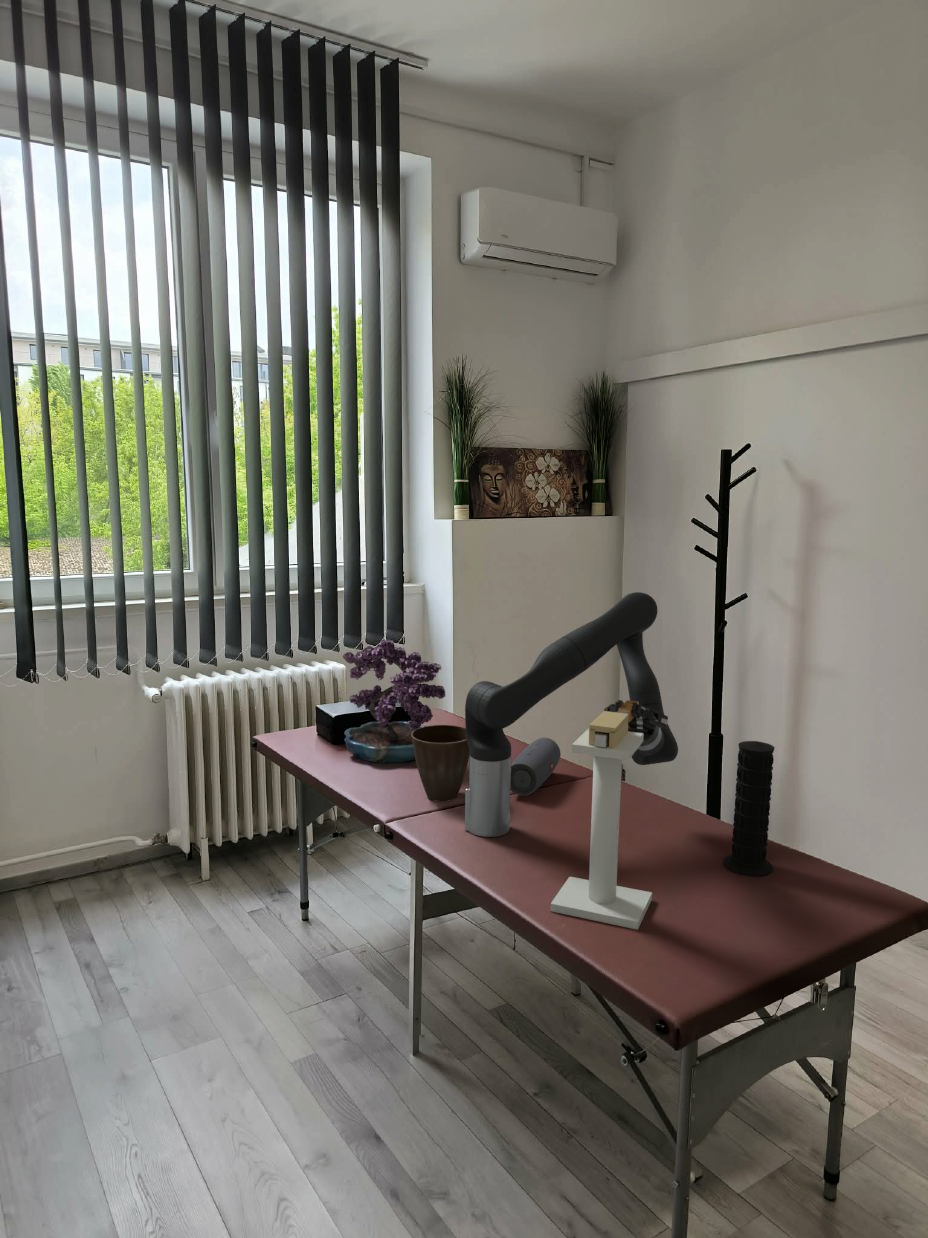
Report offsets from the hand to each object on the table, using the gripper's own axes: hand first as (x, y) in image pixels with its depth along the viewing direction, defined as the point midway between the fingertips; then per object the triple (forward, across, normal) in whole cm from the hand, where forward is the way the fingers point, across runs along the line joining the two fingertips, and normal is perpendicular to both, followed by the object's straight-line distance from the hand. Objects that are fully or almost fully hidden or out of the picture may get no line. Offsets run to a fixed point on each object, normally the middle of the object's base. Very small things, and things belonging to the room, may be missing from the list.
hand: (626, 706), depth 171 cm
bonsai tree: (-59, -75, +6) cm, 96 cm away
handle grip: (-31, +23, +22) cm, 45 cm away
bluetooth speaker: (-54, -32, +10) cm, 63 cm away
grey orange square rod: (+5, 0, +6) cm, 7 cm away
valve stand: (-6, 0, +37) cm, 37 cm away
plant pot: (-39, -50, +18) cm, 66 cm away
